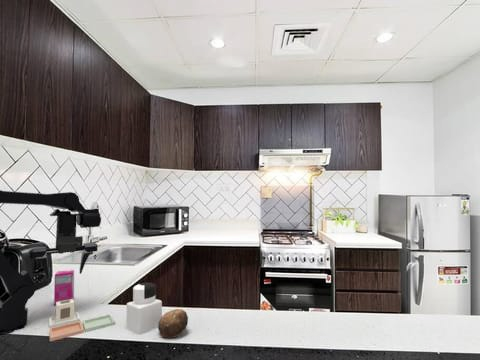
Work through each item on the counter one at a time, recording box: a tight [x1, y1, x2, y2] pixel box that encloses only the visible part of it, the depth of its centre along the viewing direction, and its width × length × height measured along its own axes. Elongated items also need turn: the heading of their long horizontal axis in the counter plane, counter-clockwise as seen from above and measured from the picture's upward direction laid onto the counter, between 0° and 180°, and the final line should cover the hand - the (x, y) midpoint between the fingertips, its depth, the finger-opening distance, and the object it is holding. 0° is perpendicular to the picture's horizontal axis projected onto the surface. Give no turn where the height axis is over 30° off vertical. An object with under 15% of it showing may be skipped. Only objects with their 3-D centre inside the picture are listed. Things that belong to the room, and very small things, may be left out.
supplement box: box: [53, 268, 75, 307], centre depth 101 cm, size 6×6×12 cm
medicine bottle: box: [125, 282, 163, 335], centre depth 76 cm, size 7×7×12 cm
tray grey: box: [48, 311, 81, 330], centre depth 81 cm, size 8×8×1 cm
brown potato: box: [157, 308, 189, 339], centre depth 72 cm, size 8×8×6 cm
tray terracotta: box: [49, 320, 85, 342], centre depth 73 cm, size 8×8×1 cm
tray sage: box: [81, 313, 116, 333], centre depth 78 cm, size 8×8×1 cm
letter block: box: [55, 299, 75, 323], centre depth 82 cm, size 4×5×6 cm
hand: (64, 275), depth 89 cm, fingers open, 9 cm apart
